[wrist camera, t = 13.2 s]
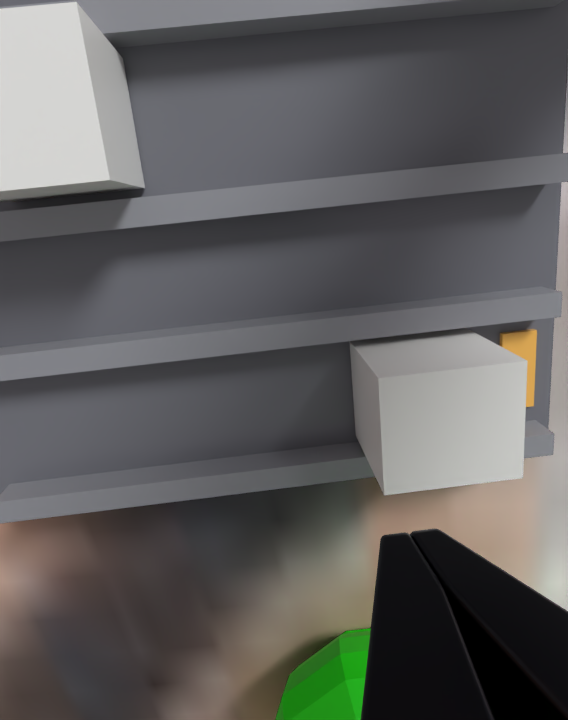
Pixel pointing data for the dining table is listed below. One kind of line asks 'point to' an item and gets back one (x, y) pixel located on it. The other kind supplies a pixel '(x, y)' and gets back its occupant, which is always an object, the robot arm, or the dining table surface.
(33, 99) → the white cube
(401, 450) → the pale grey cube
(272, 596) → the dining table surface
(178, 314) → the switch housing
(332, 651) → the plastic bottle
